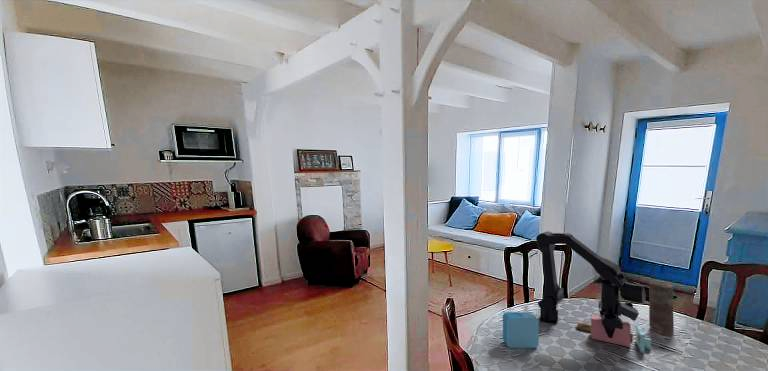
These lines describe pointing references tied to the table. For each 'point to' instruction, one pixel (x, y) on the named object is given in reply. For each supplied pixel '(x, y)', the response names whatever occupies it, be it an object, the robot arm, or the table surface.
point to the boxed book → (618, 337)
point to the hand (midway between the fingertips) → (609, 334)
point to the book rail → (588, 327)
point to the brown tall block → (661, 308)
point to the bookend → (642, 340)
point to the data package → (520, 330)
